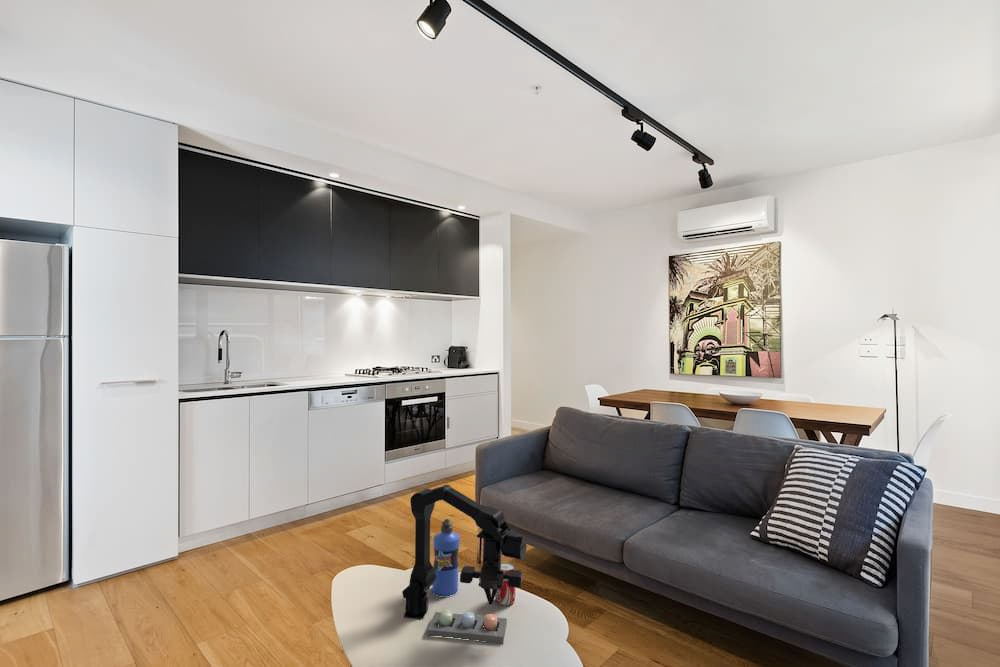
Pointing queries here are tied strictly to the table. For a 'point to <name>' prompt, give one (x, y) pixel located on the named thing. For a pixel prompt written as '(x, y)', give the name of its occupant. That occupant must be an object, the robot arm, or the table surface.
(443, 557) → the water bottle
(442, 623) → the sage button
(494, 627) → the terracotta button
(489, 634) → the button panel
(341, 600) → the table surface
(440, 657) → the table surface
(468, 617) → the blue button
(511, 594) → the soda can
